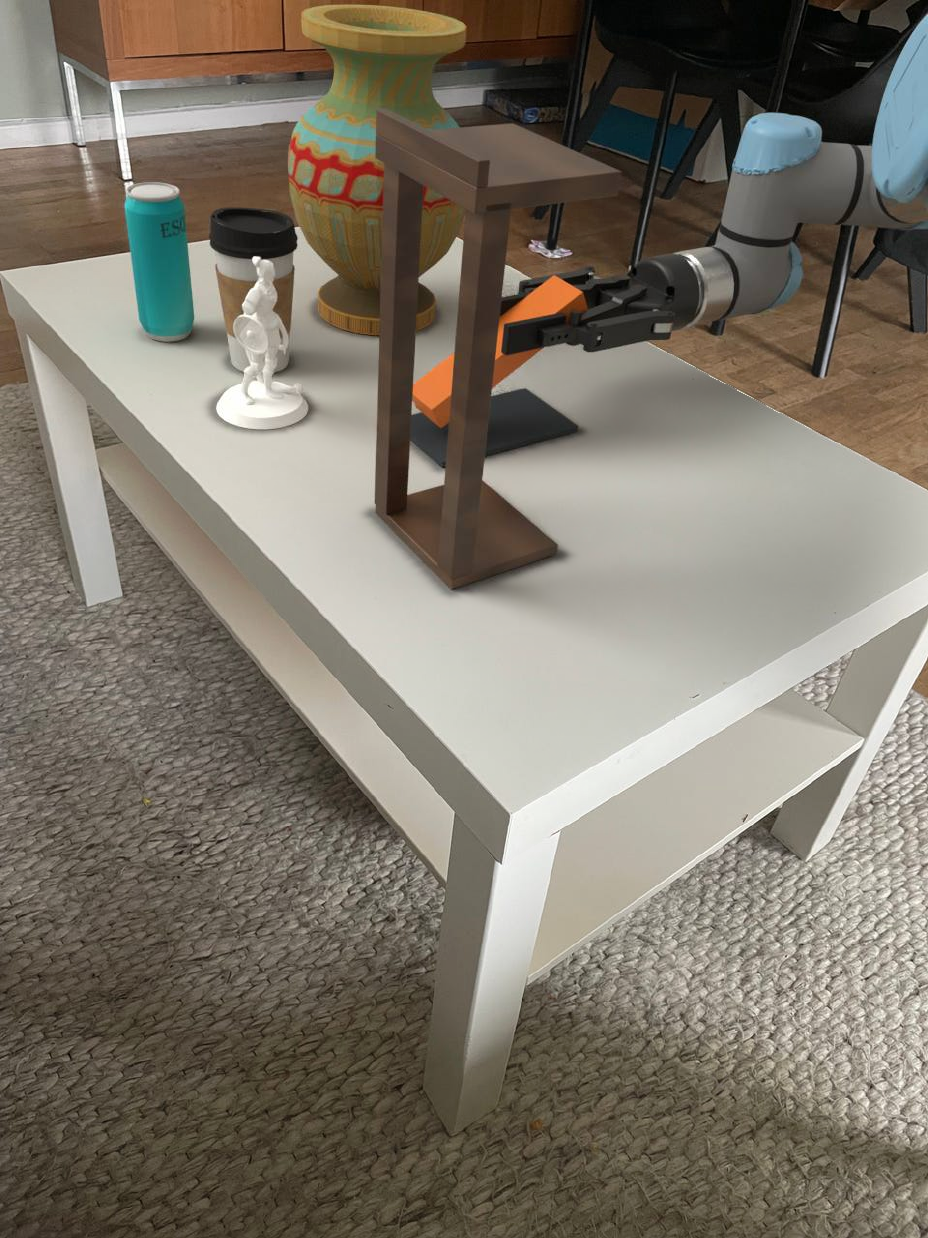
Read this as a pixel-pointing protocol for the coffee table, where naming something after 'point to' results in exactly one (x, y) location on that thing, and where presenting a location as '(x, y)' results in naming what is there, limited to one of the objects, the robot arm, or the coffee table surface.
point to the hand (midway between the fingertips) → (489, 328)
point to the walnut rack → (459, 328)
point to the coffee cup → (252, 267)
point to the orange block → (497, 347)
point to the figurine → (261, 363)
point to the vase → (368, 151)
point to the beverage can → (160, 260)
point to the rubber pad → (498, 425)
